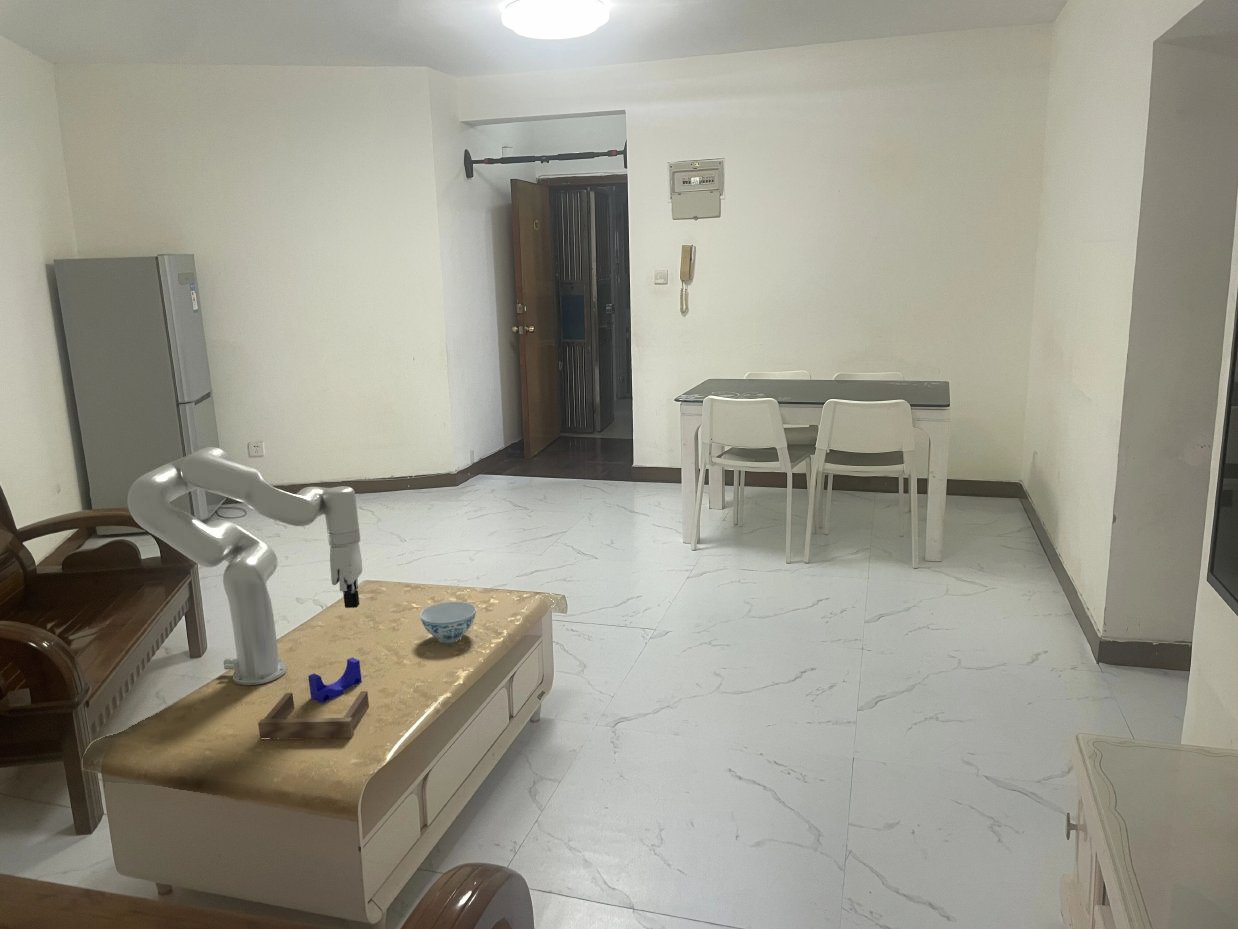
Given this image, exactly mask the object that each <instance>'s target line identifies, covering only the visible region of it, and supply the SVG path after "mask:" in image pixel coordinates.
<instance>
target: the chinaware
mask: <svg viewBox="0 0 1238 929" xmlns="http://www.w3.org/2000/svg"><path fill="white" fill-rule="evenodd" d="M476 613H477V608H476V606H475V605H474V604H472V603H470V602H466V601H459V600H458V601H457V600H456V601H446V602H445V601H444V602H439V603H438V602H437V603H436V604H431V605H430V606H427V607H425V608H424V609H422V610H421V611H420V613H419V617H420V621H421V623H422V625H423V627H424V629H425V630H426V631H427V632H428V633H429V635H431V636H432V637H434V638H436V639H437V641H438V642H439V643H443V644H450V643H451V642H452V643H455V642H454V641H456V640H459V639H460V638H462V639H463V637H462V636H464V635H465V634H466V633H468V631H469V630H470V629H471V627H472V625H473V623H474V621H475V618H476ZM460 640H461V639H460ZM460 640H459V641H460ZM456 642H457V641H456Z"/></svg>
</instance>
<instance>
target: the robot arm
mask: <svg viewBox="0 0 1238 929" xmlns="http://www.w3.org/2000/svg"><path fill="white" fill-rule="evenodd" d="M196 489H200V490H203V491H206V492H209V493H212V494H216V495H220V496H223V497H225V498H229V499H232V500H234V501H238V502H241V503H244V504H245V505H246V506H247V507H248V508H250V509H251V510H253V511H255V513H256V512H257V513H258V514H259V515H261V516H263V517H265V518H268V519H269V520H274V521H276V522H279V523H283V524H286V525H290V526H295V527H306V526H309V525H311V524H313V523H314V522H315V521H316V520H317V518H319V517H321V516H323V515H324V516H325V523H326V532H327V540H328V545H329V546H330V548H329V564H330V579H331V585H333V586H337V584H339V591H340V592H342V595H343V603H344V608H346V609H354V608H358V607H359V606H360V597H359V590H358V588H359V583H358V582H359V581H358V578H360V576H361V575H362V572H363V560H362V554H361V547H360V542H361V533H360V523H359V515H358V508H357V497H356V492H355V490H354V489H353V488H352V487H350V486H342V485H340V486H333V487H321V486H307V487H304V488H302V489H300V490H299V491H298V492H297V493H296V494H294V493H290V492H287V491H285V490H282V489H279V488H276V487H274V486H272V485H270V484H269V483H267V482H266V481H265V479H264V478H263V475H262V474H261V472H260V471H259V470H258V469H256V468H254V467H250V466H248V465H244V464H240V463H238V462H235V461H232V460H231V457H230V455H229V454H228V453H227V452H226V451H225V450H223V449H221V448H219V447H214V446H207V447H203V448H200V449H198V450H197V451H195V452H193V453H191V454H188V455H186V456H183V457H180V458H178V459H176V460H174V461H171V462H168V463H166V464H162V465H161V466H159V467H156V468H155V469H153V470H150V471H149V472H147V473H145V474H143V475H141V476H139V477H138V478H136V480H135V481H134V482H133V483H132V484H131V485H130V488H129V490H128V494H127V499H126V501H127V509H128V511H129V514H130V515H131V517H132V518H133V520H134V521H135V522H136V524H138V526H140V527H141V528H142V529H144V530H145V531H147V533H150V534H152V536H155V537H156V538H159V539H160V540H161V541H163V542H164V543H166V544H167V545H169V546H170V547H171V548H173V549H175V550H176V551H178V552H179V553H180V554H182V555H184V556H185V557H186V558H188V559H189V560H192V562H195V563H196V564H197V565H198V566H201V567H204V568H209V569H210V568H213V567H217V566H218V565H220V564H222V563H223V562H226V563H228V564H227V565H226V568H225V569H224V571H223V576H222V583H223V589H224V591H225V595H226V597H227V601H228V605H229V606H228V607H229V610H230V611H229V612H230V617H231V618H230V619H231V624H232V631H233V638H234V644H235V652H236V658H224V659H223V669H224V670H226V671H227V670H233V671H234V672H233V674H232V679H233V681H234V683H236V684H238V685H241V684H242V686H257V685H261V684H262V685H263V684H266V683H269V682H272V681H274V680H277V679H279V678H281V677H282V676H283V675H284V674H285V673H286V672H287V670H288V667H287V663H286V662H284V661H283V660H280V657H279V648H278V640H277V634H276V626H275V625H276V624H275V618H274V610H273V604H272V599H271V596H270V593H269V590H268V586H267V582H268V580H269V579H270V578H271V577H272V575H274V574H275V572H276V570H277V567H278V557H277V554H276V552H275V551H274V550H273V549H272V547H270V546H269V545H268V544H266V543H265V542H263V541H262V540H260V539H259V538H257V537H256V536H254V535H253V534H251V532H248V531H247V530H246V529H244V528H242V527H241V526H240V525H238V524H236V523H234V522H232V521H229V520H225V519H217V520H213V521H211V522H208V523H207V524H206V523H205V522H202V521H201V520H199V519H198V518H196V517H195V516H193V515H192V514H191V513H189V512H187V511H185V510H182V509H181V508H177V507H175V506H174V505H172V504H171V503H170V502H172V501H174V500H176V499H177V498H179V497H181V496H183V495H185V494H187V493H189V492H192V491H194V490H196Z"/></svg>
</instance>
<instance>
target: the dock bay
mask: <svg viewBox="0 0 1238 929" xmlns="http://www.w3.org/2000/svg"><path fill="white" fill-rule="evenodd" d="M293 695H294V694H293V692H285V693H284V694H283V696H281V698H280V699H279V701H278V702H277V703H276V704H275V705H274V706H273V708H271V709H270V710H269V712H268V714H266V716H264V718H261V719H260V720H259V721H258V723H257V725H258V731H259V739H260V738H270V739H272V740H291V739H290V738H293V739H292V740H295V739H294V738H326V739H353V737H354V735H355V730H356V729H357V727H358V725H359V723H361V721H362V720H363V718H364V716H365V714H366V713H367V711H368V710H369V708H370V704H369V703H370V702H369V694H368V690H364V691H363V690H362V691H360V692H359V694H357V696H356V697H355V699H354V701H353V702H352V703H351V705H350V706H349V709H348V710H347V712H346V713H345V714H344V716H343V717H320V718H319V717H314V718H311V717H310V718H309V717H307V718H288V717H289V716H290V715H291V713H292V712H293V711H294V710H295V704H294V703H295V701H294V696H293ZM278 738H279V739H278Z"/></svg>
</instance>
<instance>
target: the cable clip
mask: <svg viewBox="0 0 1238 929" xmlns="http://www.w3.org/2000/svg"><path fill="white" fill-rule="evenodd" d="M361 683H363V681H362V672H361V663H360V660H359V659H357V658H354V657H350V658H347V660H346V667H345V669H344V672H343V674H342V675H341V676H340V678H338V679H337V680H336V681H334V682H333V683H329V684H325V683H324V682H323V680H322V676H321V675H319V674H317V673H314V672H313V673H312V674H309V675H308V684H309V693H310V699H312V700H314V701H316V702H318V703H320V704H324V703H326V702H328V701H331V700H332V699H334V698H337V697H339V696H341V695H344V694H345V692H344V691H346V690H348V689H350V688H352V687H354V686H357V685H359V684H361Z"/></svg>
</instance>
